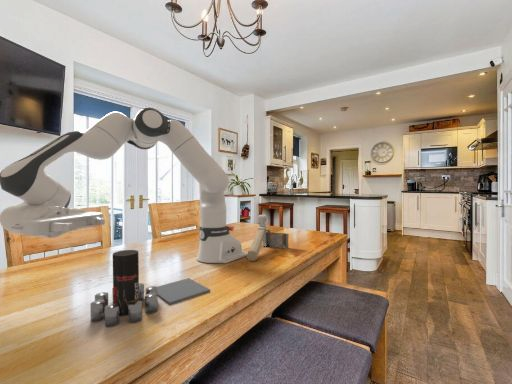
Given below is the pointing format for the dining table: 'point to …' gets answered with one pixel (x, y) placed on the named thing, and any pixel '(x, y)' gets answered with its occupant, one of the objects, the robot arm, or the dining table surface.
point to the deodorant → (125, 279)
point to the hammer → (258, 239)
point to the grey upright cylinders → (111, 312)
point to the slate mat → (180, 290)
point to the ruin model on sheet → (277, 239)
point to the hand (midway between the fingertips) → (87, 224)
